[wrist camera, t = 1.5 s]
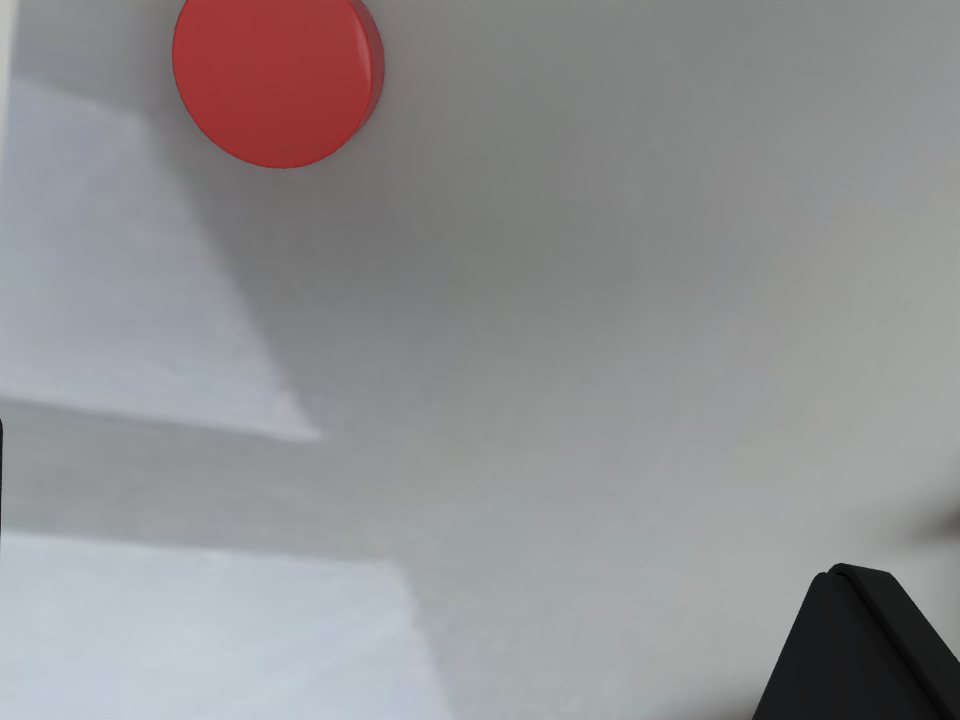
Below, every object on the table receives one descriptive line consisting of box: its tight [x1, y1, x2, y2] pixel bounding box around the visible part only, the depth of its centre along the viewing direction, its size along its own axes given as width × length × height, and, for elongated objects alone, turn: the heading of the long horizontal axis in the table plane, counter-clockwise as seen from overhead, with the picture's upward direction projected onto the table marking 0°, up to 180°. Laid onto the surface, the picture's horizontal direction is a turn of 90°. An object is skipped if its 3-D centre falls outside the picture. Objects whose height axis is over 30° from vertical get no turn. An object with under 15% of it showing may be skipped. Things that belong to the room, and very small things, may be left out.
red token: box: [172, 0, 384, 169], centre depth 20 cm, size 4×4×3 cm
